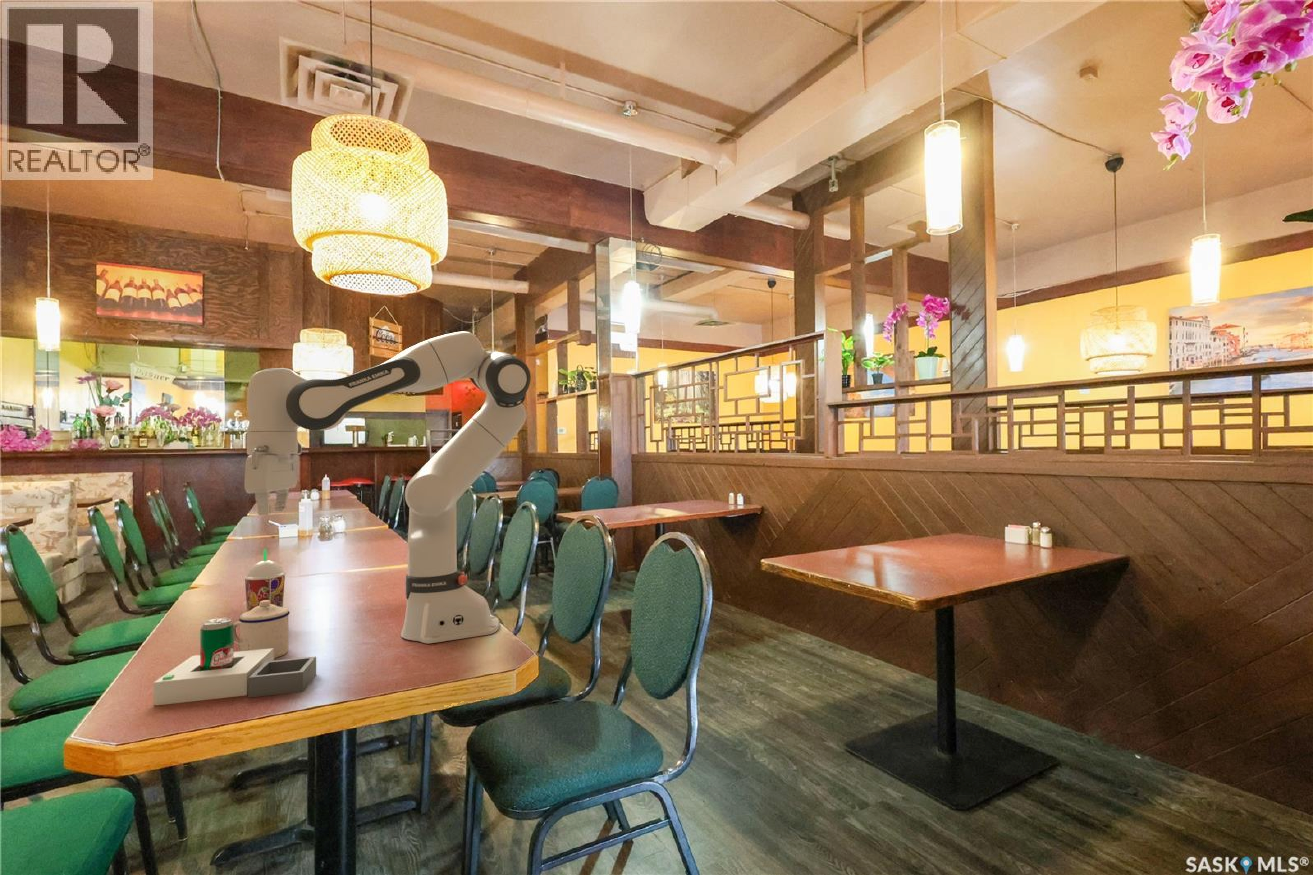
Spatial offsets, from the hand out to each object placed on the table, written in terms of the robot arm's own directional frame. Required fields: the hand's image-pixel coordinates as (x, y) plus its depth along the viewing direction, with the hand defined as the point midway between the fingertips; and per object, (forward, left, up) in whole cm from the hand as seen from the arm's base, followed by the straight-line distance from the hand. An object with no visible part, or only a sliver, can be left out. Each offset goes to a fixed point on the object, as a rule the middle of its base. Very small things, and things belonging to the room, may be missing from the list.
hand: (272, 512), depth 123 cm
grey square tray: (-6, +14, -31) cm, 35 cm away
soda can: (+6, +10, -31) cm, 33 cm away
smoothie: (+10, -27, -31) cm, 43 cm away
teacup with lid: (+5, -7, -31) cm, 32 cm away
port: (+6, +10, -31) cm, 33 cm away
